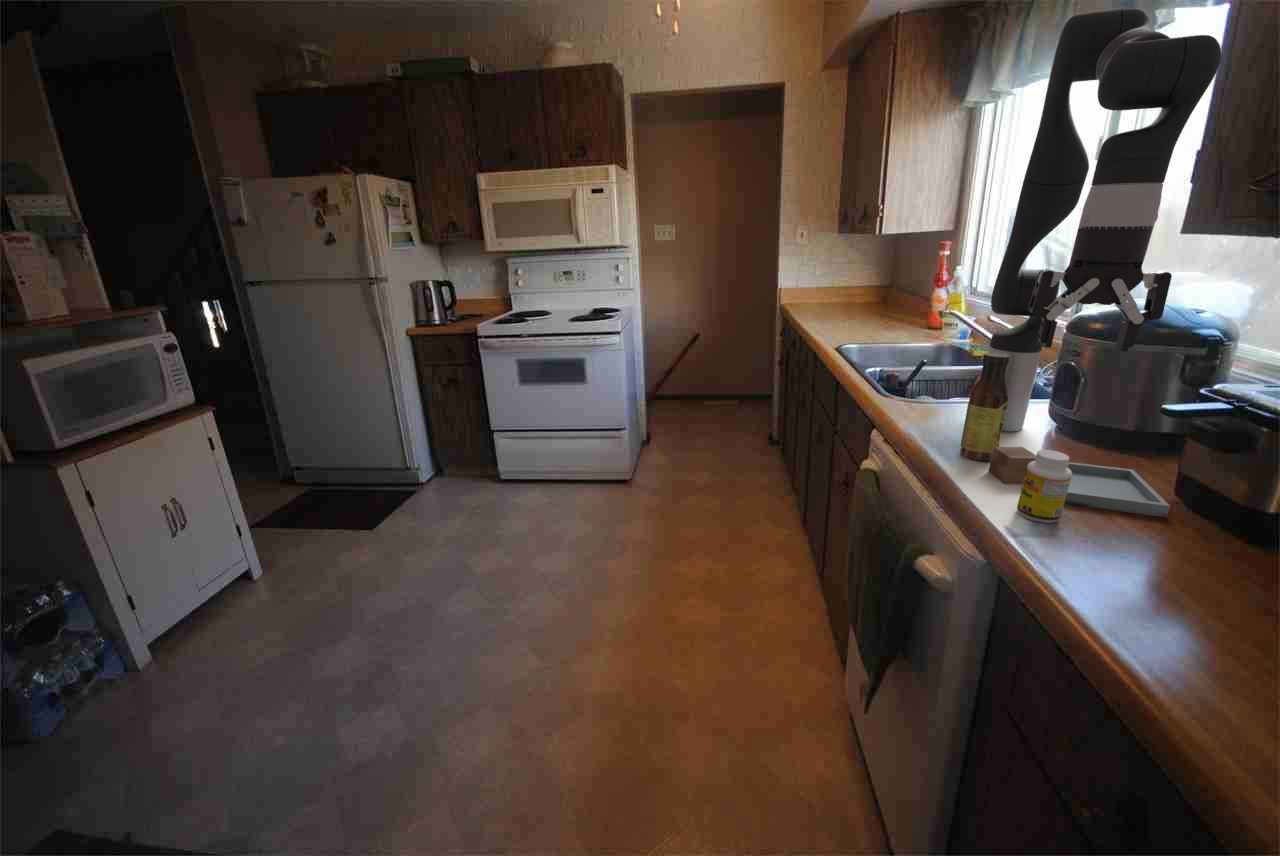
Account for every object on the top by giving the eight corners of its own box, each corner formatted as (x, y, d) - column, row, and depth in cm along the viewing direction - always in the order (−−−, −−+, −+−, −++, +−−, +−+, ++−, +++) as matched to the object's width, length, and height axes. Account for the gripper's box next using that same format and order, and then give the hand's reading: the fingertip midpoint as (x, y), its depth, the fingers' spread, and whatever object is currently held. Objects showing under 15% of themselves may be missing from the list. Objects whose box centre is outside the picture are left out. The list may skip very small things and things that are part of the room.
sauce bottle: (1001, 463, 104) (1025, 359, 97) (964, 461, 105) (986, 358, 98) (987, 450, 110) (1010, 351, 103) (953, 448, 111) (973, 350, 104)
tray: (1035, 468, 102) (1037, 458, 101) (1129, 480, 97) (1133, 469, 96) (1056, 502, 90) (1060, 491, 89) (1166, 517, 85) (1170, 506, 84)
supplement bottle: (1012, 504, 89) (1027, 445, 86) (1053, 510, 87) (1070, 450, 84) (1020, 521, 85) (1036, 459, 81) (1063, 527, 83) (1082, 464, 79)
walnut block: (988, 472, 101) (993, 446, 99) (1016, 472, 101) (1022, 446, 99) (1004, 484, 96) (1010, 458, 95) (1033, 484, 96) (1040, 458, 94)
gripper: (1172, 222, 72) (1135, 346, 78) (1042, 223, 77) (1016, 340, 83) (1202, 223, 65) (1158, 358, 71) (1057, 224, 70) (1028, 350, 76)
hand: (1082, 348), depth 77 cm, fingers open, 8 cm apart
